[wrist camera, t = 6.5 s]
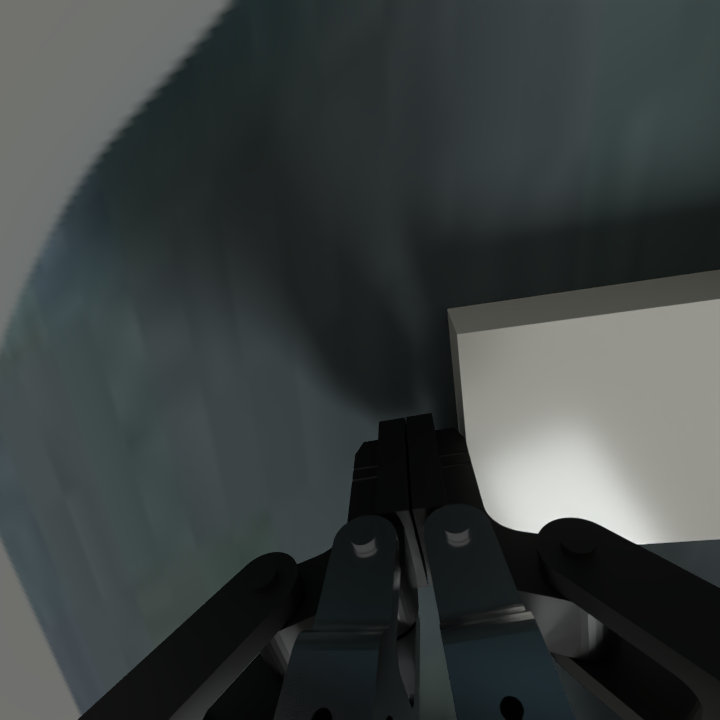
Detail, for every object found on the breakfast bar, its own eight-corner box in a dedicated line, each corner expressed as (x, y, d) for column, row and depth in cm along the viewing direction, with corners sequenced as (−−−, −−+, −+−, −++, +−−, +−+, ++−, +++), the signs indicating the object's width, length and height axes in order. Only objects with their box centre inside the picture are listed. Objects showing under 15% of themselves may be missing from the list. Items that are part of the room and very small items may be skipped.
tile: (847, 244, 11) (971, 264, 8) (784, 468, 13) (865, 529, 11) (444, 303, 12) (456, 334, 10) (463, 495, 15) (476, 555, 12)
